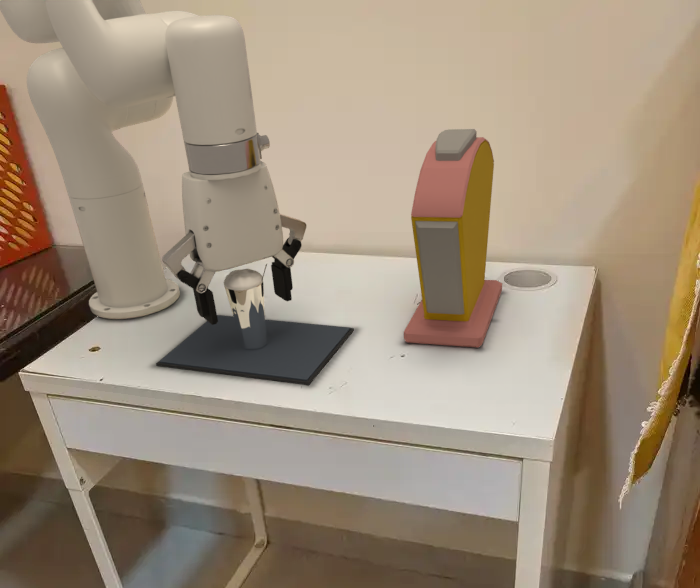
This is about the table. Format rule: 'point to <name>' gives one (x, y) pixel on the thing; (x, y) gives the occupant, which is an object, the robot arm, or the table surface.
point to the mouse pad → (259, 350)
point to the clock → (453, 242)
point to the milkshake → (247, 306)
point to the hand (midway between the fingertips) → (247, 308)
